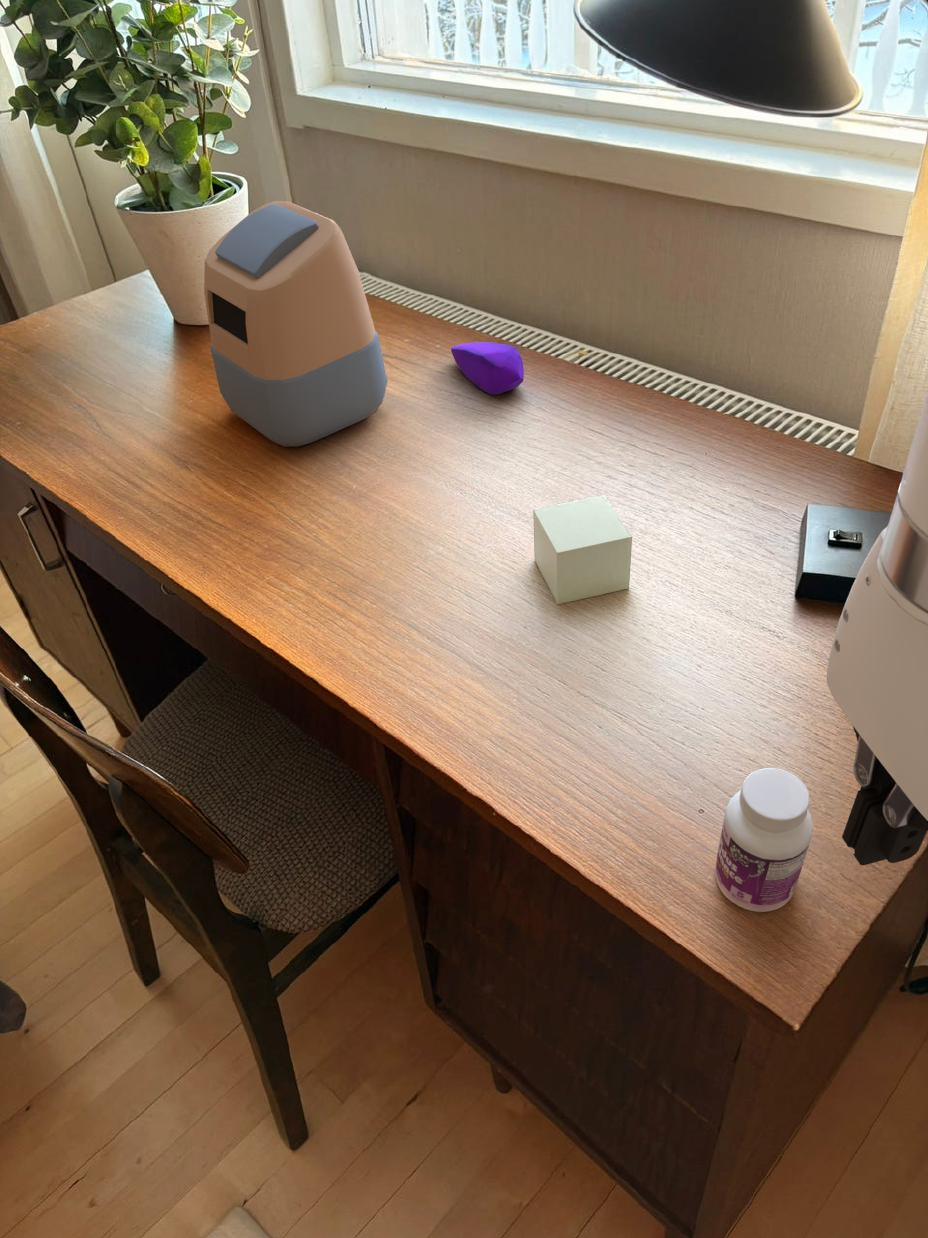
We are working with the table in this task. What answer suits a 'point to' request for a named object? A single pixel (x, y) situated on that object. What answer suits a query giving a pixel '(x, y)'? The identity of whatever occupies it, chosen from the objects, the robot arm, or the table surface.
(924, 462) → the robot arm
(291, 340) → the alarm clock
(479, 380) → the crystal
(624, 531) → the sage block
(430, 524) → the table surface
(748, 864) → the pill bottle
